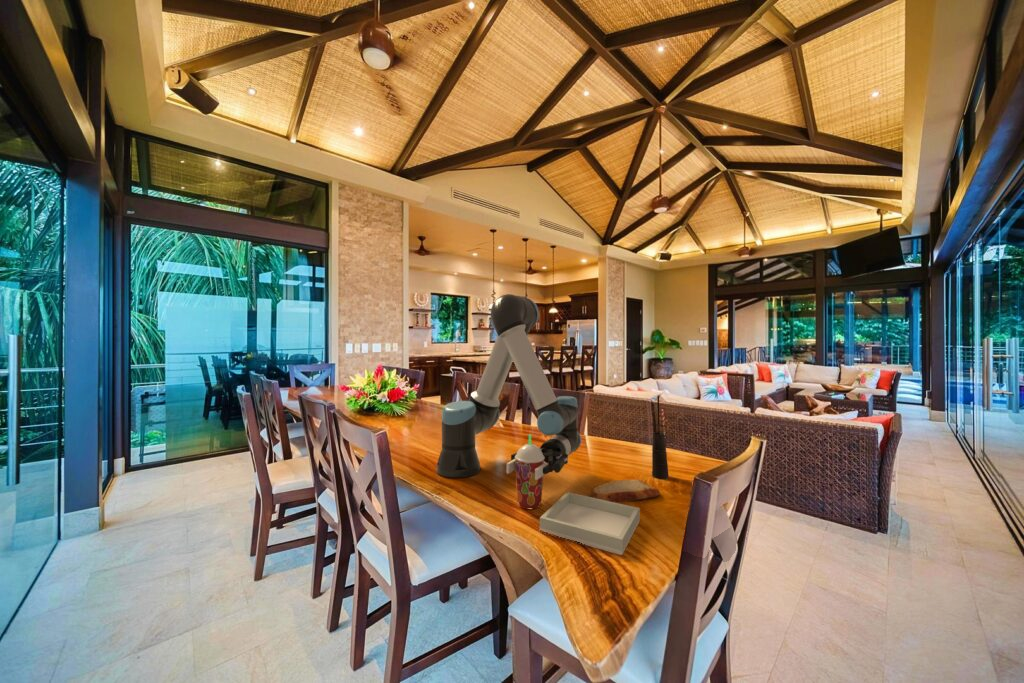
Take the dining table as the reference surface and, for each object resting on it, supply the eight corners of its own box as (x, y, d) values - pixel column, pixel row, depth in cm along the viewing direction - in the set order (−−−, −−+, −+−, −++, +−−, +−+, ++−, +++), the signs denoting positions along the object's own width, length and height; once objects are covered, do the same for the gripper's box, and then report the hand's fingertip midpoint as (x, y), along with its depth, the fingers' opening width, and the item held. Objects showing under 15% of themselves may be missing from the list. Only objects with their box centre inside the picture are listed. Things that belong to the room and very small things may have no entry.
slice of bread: (586, 500, 116) (586, 487, 116) (605, 480, 132) (605, 469, 132) (650, 515, 107) (650, 501, 107) (662, 492, 123) (662, 480, 123)
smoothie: (546, 500, 115) (546, 431, 115) (541, 513, 107) (542, 439, 106) (517, 497, 117) (518, 430, 116) (511, 509, 109) (512, 437, 108)
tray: (539, 531, 97) (539, 517, 97) (567, 504, 113) (567, 492, 113) (621, 555, 87) (622, 539, 87) (639, 521, 103) (639, 508, 103)
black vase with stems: (654, 468, 143) (655, 391, 142) (680, 476, 136) (681, 394, 135) (640, 474, 137) (642, 393, 136) (667, 482, 130) (668, 397, 129)
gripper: (586, 467, 122) (557, 493, 102) (526, 456, 133) (489, 477, 113) (586, 443, 122) (557, 464, 102) (526, 433, 132) (489, 451, 113)
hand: (521, 471), depth 108 cm, fingers closed on smoothie, 8 cm apart
